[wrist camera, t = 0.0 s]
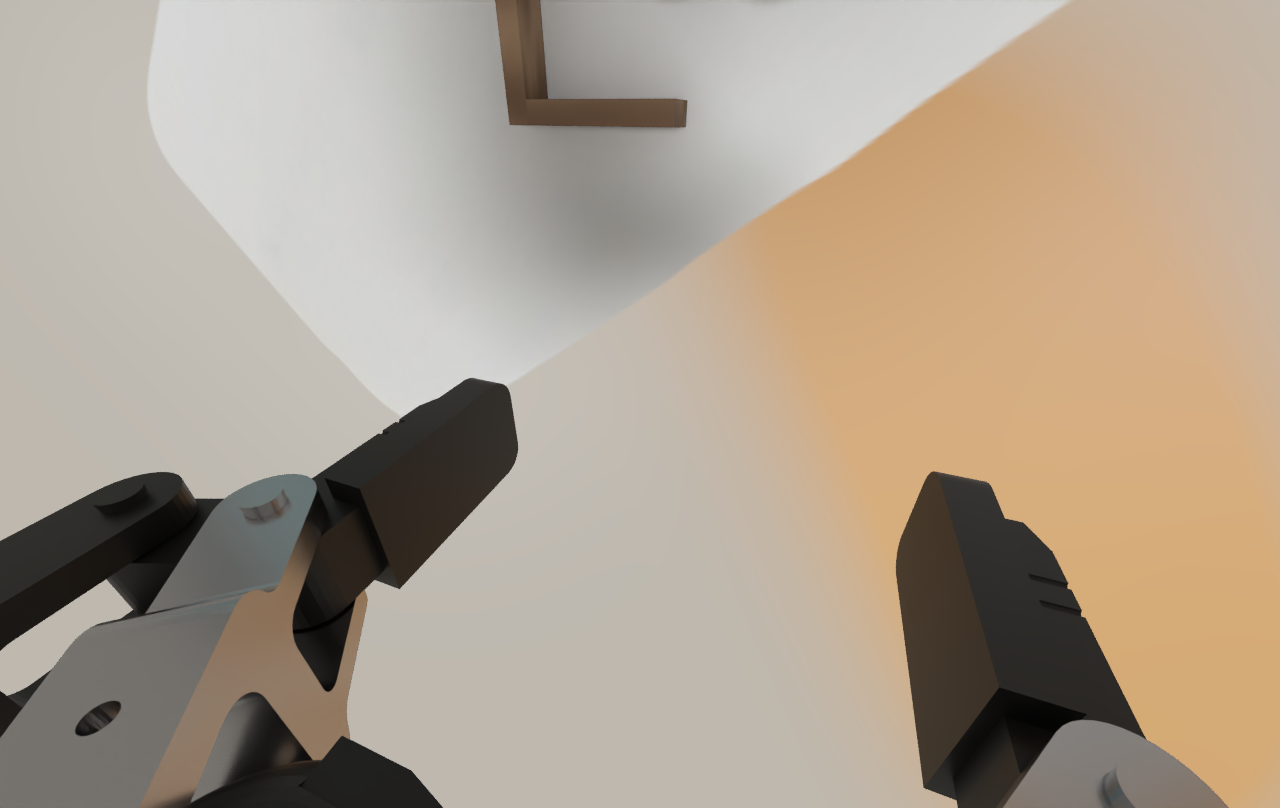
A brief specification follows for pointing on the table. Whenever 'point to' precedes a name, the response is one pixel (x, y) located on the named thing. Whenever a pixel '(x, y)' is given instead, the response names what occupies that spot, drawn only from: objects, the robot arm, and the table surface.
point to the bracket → (530, 88)
